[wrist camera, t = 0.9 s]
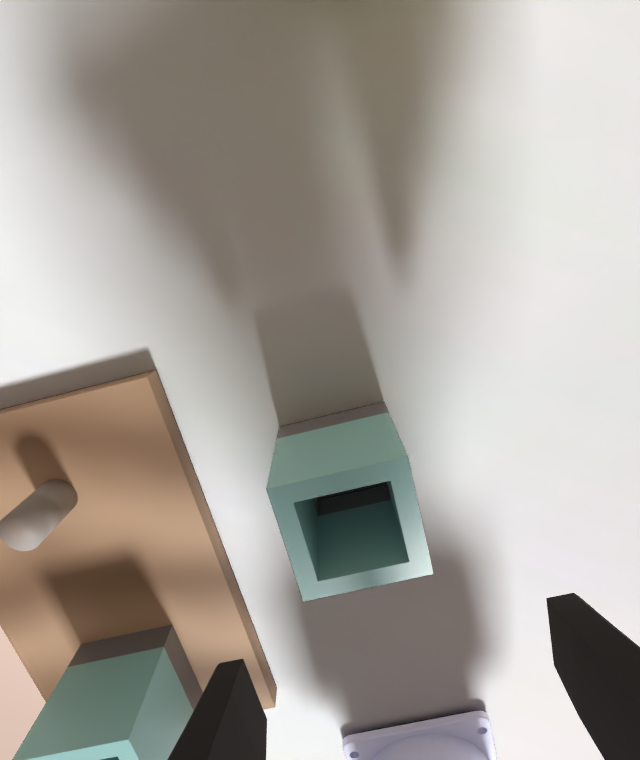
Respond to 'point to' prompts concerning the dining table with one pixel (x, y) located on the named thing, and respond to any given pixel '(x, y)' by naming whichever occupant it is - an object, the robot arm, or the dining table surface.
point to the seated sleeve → (117, 701)
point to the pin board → (112, 535)
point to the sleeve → (347, 503)
